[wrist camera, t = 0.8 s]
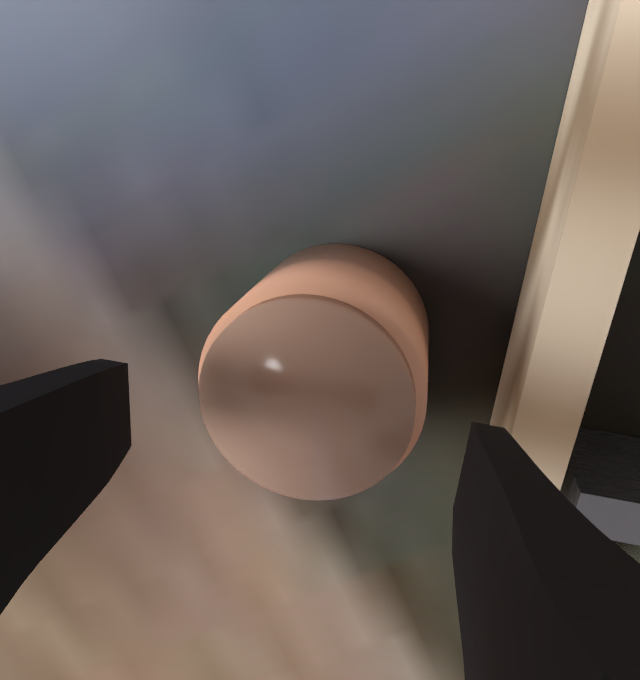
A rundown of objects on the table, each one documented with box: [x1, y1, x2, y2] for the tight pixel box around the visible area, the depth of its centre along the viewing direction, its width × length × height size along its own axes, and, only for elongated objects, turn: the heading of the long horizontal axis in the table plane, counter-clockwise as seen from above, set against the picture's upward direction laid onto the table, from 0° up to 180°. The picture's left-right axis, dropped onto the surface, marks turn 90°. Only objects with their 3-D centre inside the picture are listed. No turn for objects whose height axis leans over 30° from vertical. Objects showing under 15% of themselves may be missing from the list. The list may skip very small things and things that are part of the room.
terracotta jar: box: [198, 243, 429, 500], centre depth 15 cm, size 6×6×5 cm
